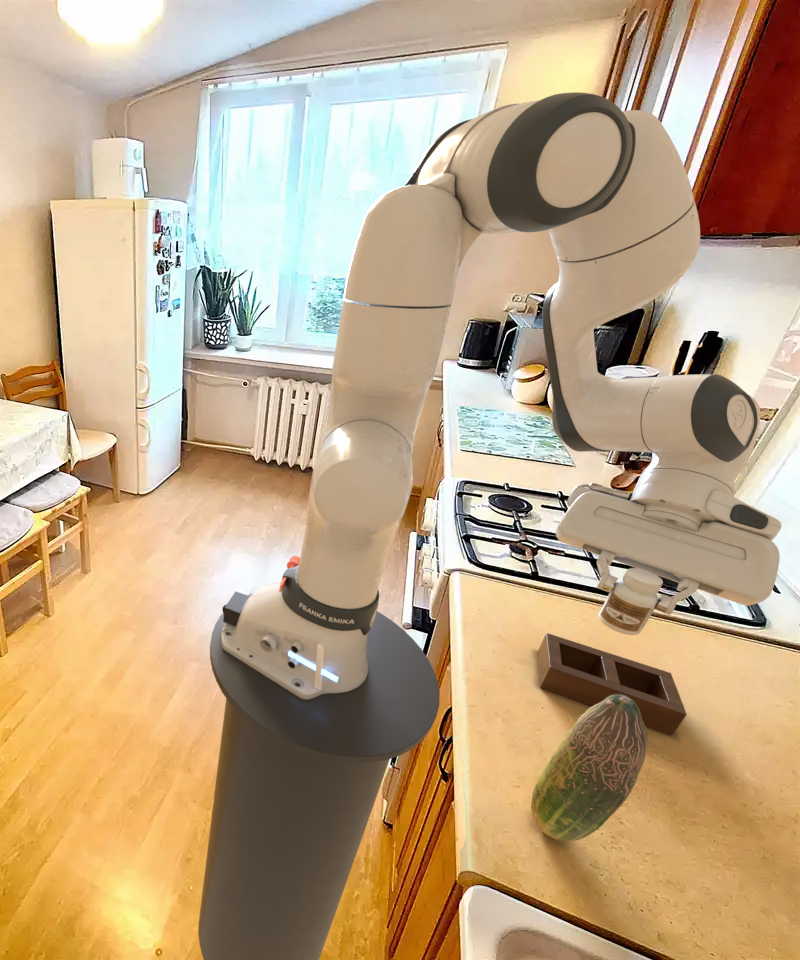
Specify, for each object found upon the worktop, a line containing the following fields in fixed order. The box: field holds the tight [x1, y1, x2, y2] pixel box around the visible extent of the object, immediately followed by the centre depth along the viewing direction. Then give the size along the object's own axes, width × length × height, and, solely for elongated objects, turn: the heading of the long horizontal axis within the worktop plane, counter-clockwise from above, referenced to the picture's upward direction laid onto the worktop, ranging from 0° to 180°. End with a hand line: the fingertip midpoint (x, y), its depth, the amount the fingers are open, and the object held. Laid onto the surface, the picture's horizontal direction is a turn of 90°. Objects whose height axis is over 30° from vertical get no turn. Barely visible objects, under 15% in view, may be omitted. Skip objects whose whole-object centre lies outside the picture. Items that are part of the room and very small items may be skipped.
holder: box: [536, 632, 687, 736], centre depth 73 cm, size 8×14×4 cm, turn 59°
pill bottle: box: [598, 567, 664, 636], centre depth 65 cm, size 4×4×8 cm
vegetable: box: [530, 694, 649, 842], centre depth 52 cm, size 6×6×20 cm
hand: (632, 600), depth 65 cm, fingers closed on pill bottle, 4 cm apart
